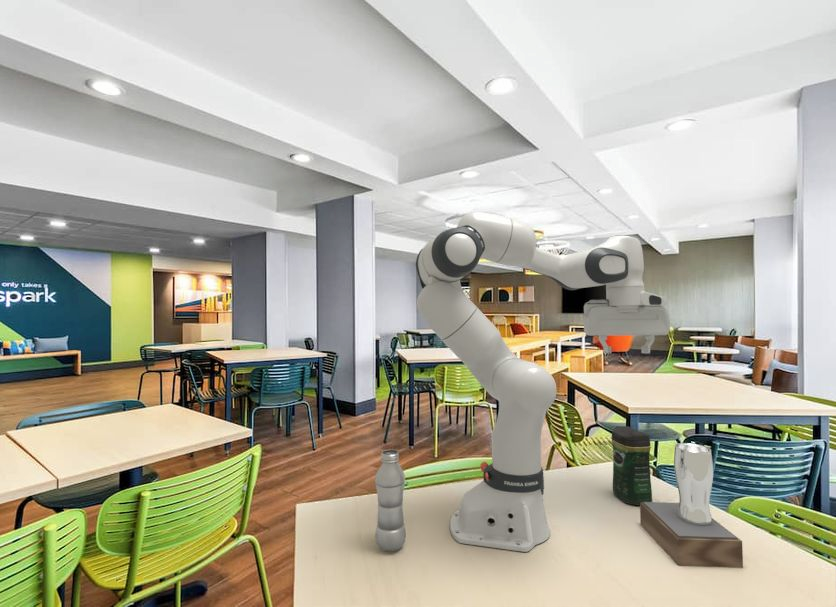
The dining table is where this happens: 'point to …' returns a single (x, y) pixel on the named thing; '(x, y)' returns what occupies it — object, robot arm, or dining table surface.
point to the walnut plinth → (690, 537)
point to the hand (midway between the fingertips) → (626, 353)
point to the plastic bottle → (390, 502)
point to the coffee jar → (631, 465)
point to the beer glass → (694, 482)
